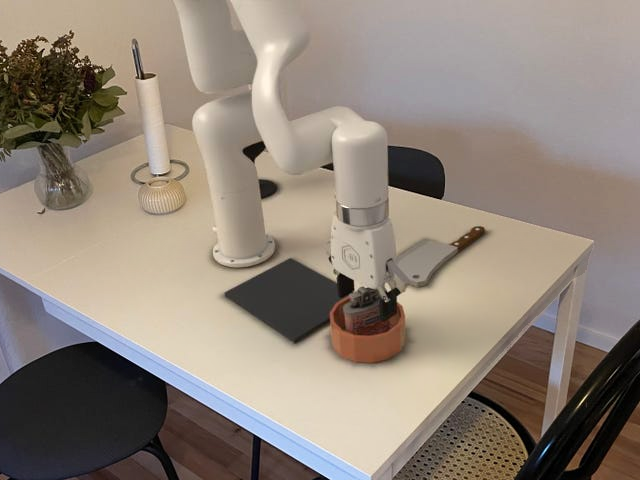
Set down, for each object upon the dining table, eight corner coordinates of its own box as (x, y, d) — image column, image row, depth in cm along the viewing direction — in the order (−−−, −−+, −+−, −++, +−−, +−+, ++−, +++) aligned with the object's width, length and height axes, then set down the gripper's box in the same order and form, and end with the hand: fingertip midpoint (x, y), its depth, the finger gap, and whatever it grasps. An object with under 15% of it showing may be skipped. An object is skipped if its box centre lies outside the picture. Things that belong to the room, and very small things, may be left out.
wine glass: (276, 198, 155) (266, 115, 144) (232, 201, 155) (218, 119, 145) (278, 179, 164) (269, 99, 153) (236, 182, 164) (224, 103, 153)
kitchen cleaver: (453, 217, 138) (495, 230, 132) (453, 222, 139) (495, 234, 132) (376, 268, 125) (418, 285, 119) (376, 273, 126) (419, 290, 119)
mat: (224, 296, 123) (224, 292, 122) (290, 261, 131) (290, 257, 131) (294, 343, 110) (294, 339, 109) (363, 301, 118) (363, 297, 117)
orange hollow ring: (316, 340, 110) (314, 316, 107) (368, 308, 116) (367, 284, 113) (367, 373, 102) (366, 348, 99) (420, 337, 108) (420, 312, 105)
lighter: (352, 353, 106) (349, 302, 101) (341, 342, 109) (337, 291, 103) (394, 335, 109) (393, 285, 104) (383, 325, 112) (381, 275, 106)
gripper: (303, 200, 100) (312, 294, 109) (389, 238, 88) (391, 340, 98) (339, 183, 104) (345, 275, 113) (426, 217, 92) (425, 317, 101)
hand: (366, 305), depth 105 cm, fingers open, 8 cm apart
